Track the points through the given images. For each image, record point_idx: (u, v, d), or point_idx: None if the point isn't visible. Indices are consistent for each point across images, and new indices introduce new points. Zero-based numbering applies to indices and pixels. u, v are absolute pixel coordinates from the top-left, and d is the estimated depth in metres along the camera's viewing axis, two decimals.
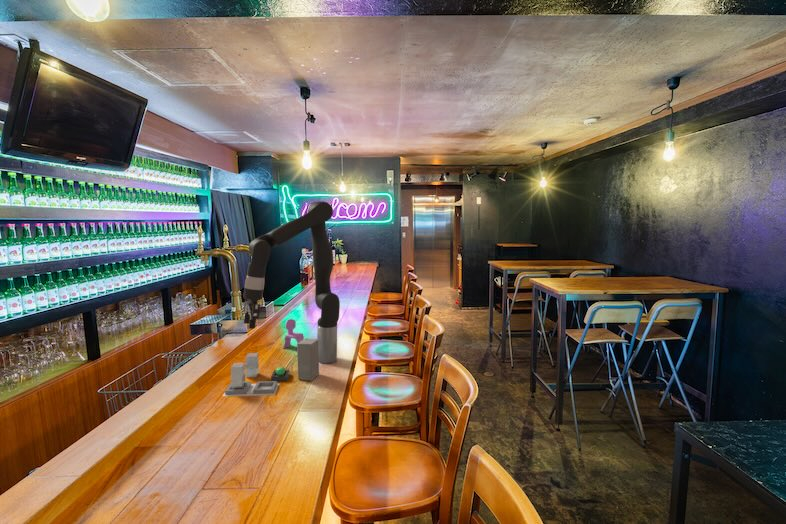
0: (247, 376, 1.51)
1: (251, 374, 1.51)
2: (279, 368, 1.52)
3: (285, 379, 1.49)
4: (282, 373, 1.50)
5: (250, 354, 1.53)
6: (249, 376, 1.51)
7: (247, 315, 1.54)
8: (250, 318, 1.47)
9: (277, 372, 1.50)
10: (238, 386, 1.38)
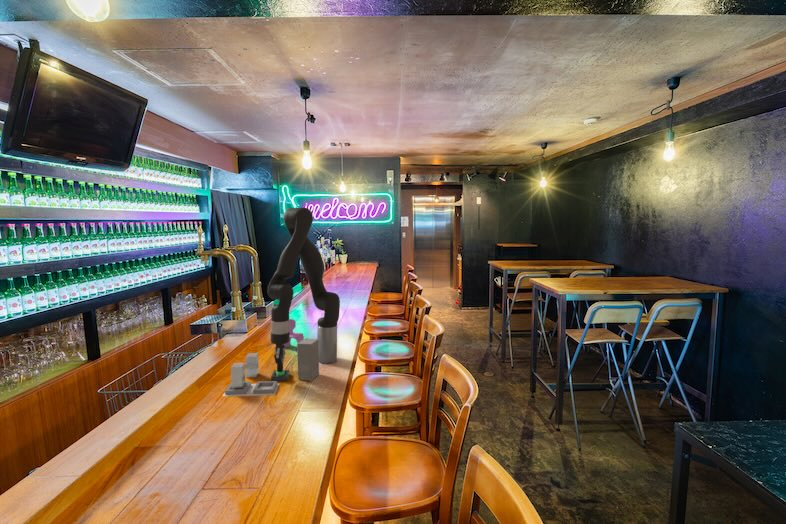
0: (247, 376, 1.51)
1: (251, 374, 1.51)
2: None
3: (285, 379, 1.49)
4: None
5: (250, 354, 1.53)
6: (249, 376, 1.51)
7: None
8: None
9: (277, 374, 1.50)
10: (238, 386, 1.38)
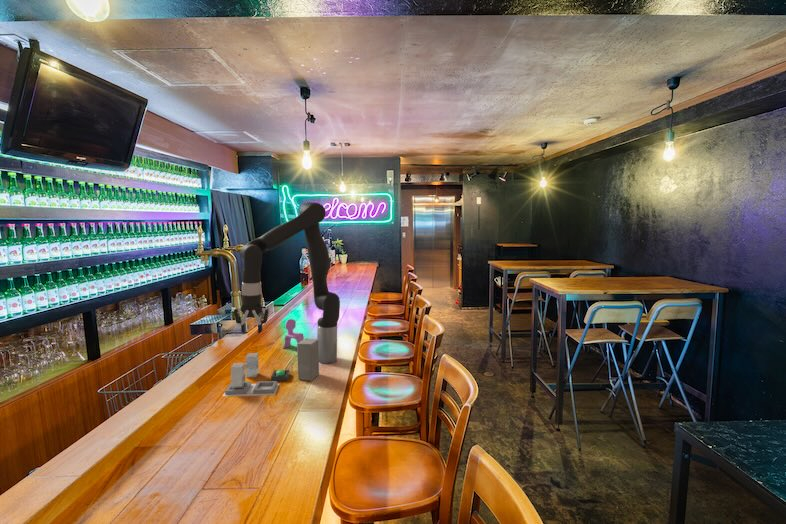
0: (247, 376, 1.51)
1: (251, 374, 1.51)
2: (279, 371, 1.52)
3: (285, 379, 1.49)
4: None
5: (250, 354, 1.53)
6: (249, 376, 1.51)
7: None
8: None
9: (277, 375, 1.50)
10: (238, 386, 1.38)
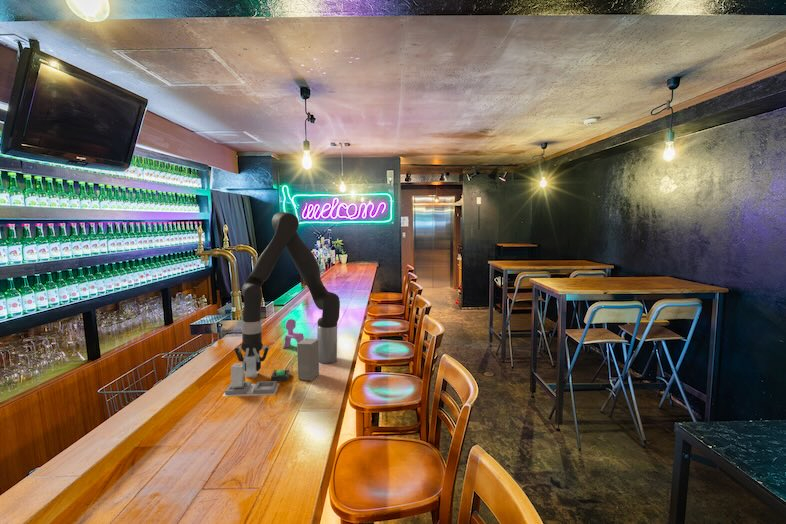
0: (247, 376, 1.51)
1: (251, 374, 1.51)
2: (279, 371, 1.52)
3: (285, 379, 1.49)
4: None
5: None
6: (249, 376, 1.51)
7: (257, 362, 1.53)
8: None
9: (277, 375, 1.50)
10: (238, 386, 1.38)
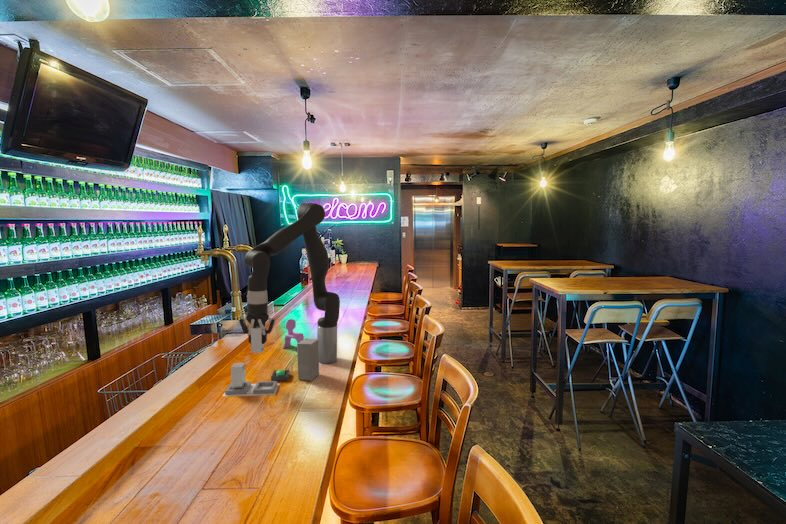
0: (252, 349, 1.44)
1: (257, 347, 1.44)
2: (279, 371, 1.52)
3: (285, 379, 1.49)
4: None
5: None
6: (254, 349, 1.44)
7: None
8: None
9: (277, 375, 1.50)
10: (238, 386, 1.38)
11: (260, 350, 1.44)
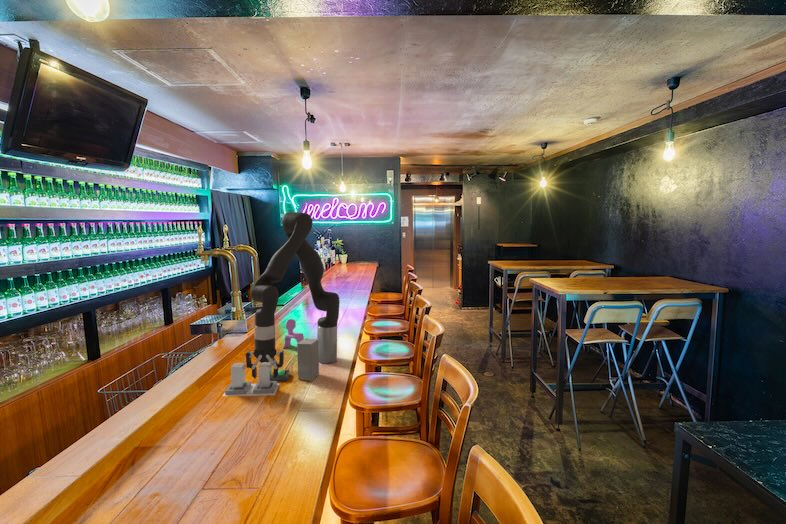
0: (260, 388, 1.39)
1: (264, 386, 1.40)
2: (279, 371, 1.52)
3: (285, 379, 1.49)
4: None
5: (263, 364, 1.41)
6: (262, 388, 1.40)
7: None
8: None
9: None
10: (238, 386, 1.38)
11: (268, 388, 1.40)
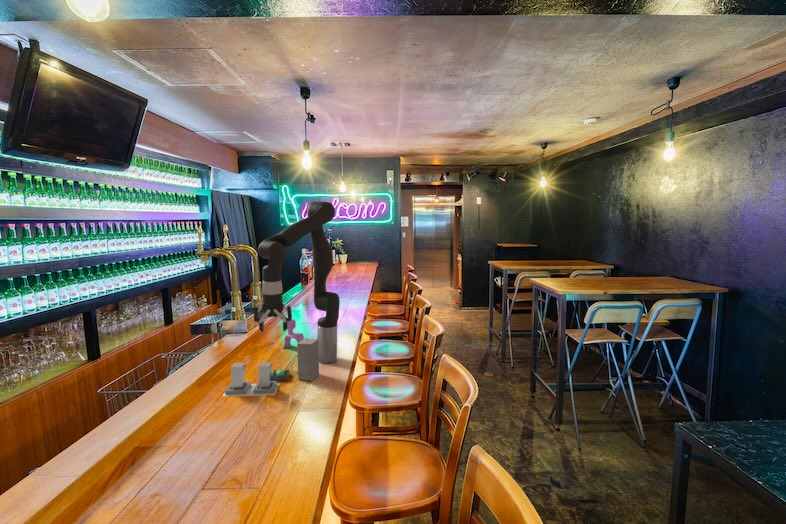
0: (260, 388, 1.39)
1: (264, 386, 1.40)
2: (279, 371, 1.52)
3: (285, 379, 1.49)
4: None
5: (263, 364, 1.41)
6: (262, 388, 1.40)
7: None
8: None
9: (277, 375, 1.50)
10: (238, 386, 1.38)
11: (268, 388, 1.40)
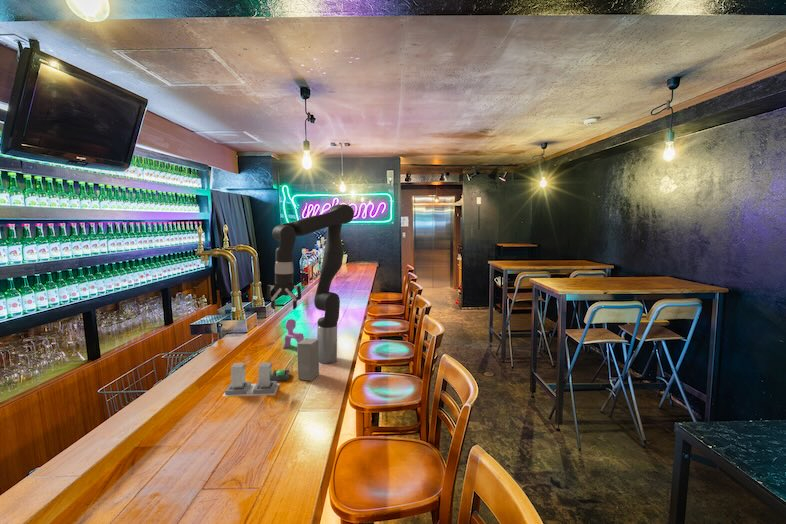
0: (260, 388, 1.39)
1: (264, 386, 1.40)
2: (279, 371, 1.52)
3: (285, 379, 1.49)
4: None
5: (263, 364, 1.41)
6: (262, 388, 1.40)
7: (293, 301, 1.58)
8: None
9: (277, 375, 1.50)
10: (238, 386, 1.38)
11: (268, 388, 1.40)
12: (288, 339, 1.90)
